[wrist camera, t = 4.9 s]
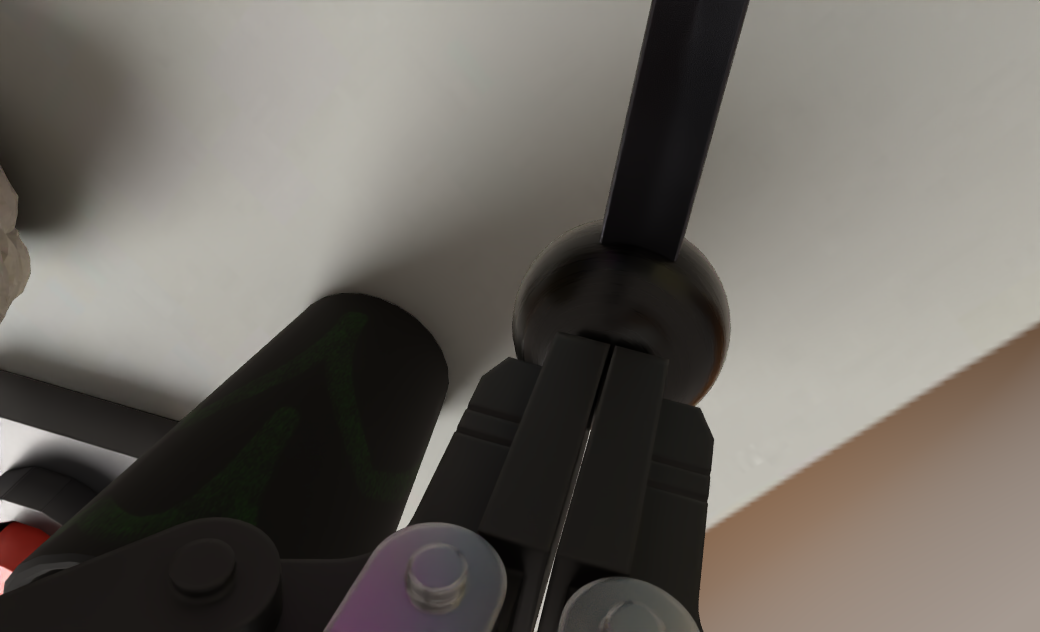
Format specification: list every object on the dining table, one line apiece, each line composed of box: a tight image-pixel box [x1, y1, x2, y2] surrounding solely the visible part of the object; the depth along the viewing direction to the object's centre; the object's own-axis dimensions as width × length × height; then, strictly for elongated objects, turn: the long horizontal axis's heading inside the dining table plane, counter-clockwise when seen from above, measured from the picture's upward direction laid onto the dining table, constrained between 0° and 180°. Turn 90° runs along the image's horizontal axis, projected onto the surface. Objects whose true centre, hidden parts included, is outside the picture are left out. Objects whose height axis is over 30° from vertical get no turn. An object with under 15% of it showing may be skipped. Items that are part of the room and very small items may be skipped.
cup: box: [3, 293, 449, 594], centre depth 23 cm, size 8×8×12 cm
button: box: [0, 522, 51, 595], centre depth 32 cm, size 4×4×2 cm
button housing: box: [0, 370, 179, 536], centre depth 34 cm, size 11×9×4 cm
